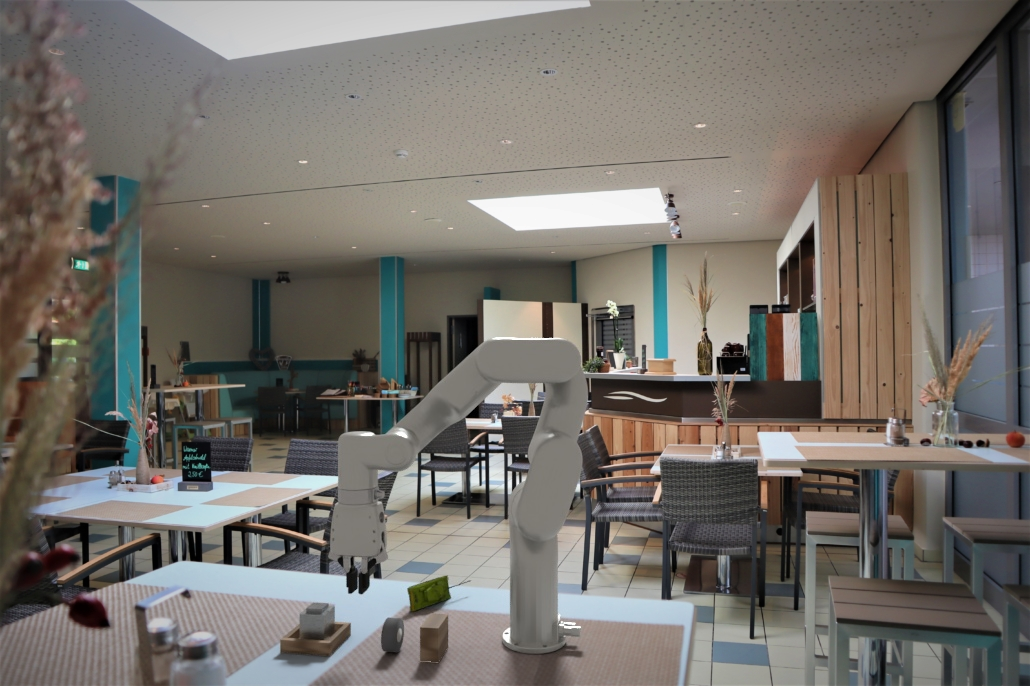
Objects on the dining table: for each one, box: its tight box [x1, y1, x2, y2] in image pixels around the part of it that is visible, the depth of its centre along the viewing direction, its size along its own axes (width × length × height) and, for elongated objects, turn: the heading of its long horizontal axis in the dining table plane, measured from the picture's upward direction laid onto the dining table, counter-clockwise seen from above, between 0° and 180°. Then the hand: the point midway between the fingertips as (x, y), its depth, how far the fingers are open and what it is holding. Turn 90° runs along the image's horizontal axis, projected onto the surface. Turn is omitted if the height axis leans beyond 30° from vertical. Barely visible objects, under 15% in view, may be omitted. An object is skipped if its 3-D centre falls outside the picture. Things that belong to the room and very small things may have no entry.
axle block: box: [419, 612, 449, 663], centre depth 132 cm, size 4×7×6 cm, turn 171°
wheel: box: [380, 617, 405, 653], centre depth 133 cm, size 3×6×6 cm, turn 171°
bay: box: [279, 621, 352, 657], centre depth 137 cm, size 10×10×2 cm
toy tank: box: [407, 575, 472, 612], centre depth 159 cm, size 7×19×10 cm
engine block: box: [299, 602, 336, 641], centre depth 137 cm, size 5×5×7 cm
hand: (358, 591), depth 134 cm, fingers closed
